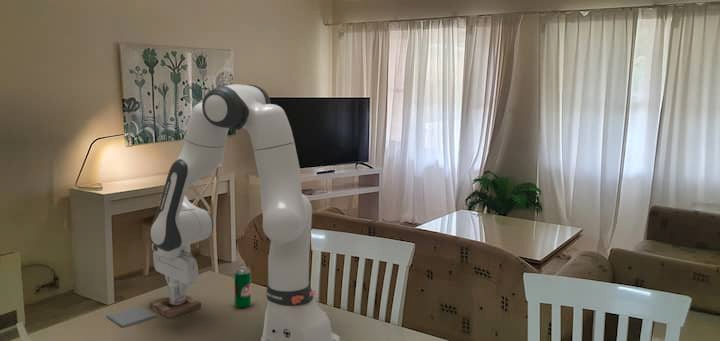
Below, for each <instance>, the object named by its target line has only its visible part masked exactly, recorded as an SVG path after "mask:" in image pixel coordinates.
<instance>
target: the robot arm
mask: <svg viewBox="0 0 720 341" xmlns="http://www.w3.org/2000/svg"><path fill="white" fill-rule="evenodd" d="M242 128H243V129H244V130H246V131H247V133H248V134H249V136H250V141H251V145H252V149H253V151H252V152H253V154H254V161H255V164H256V169H257V174H258V178H259V180H258V181H259V191H260V204H261V213H262V229H263V232H264V233H263V234H264V235H265V236H266V237H267V238H268V239H269V240H270V246H269V252H268V257H267V258H268V259H267V262H268V266H267V270H268V271H267V272H268V274H267V280H268V282H267V284H266V299H267V305H266V309H265V312H264V322H263V323H264V324H263V331H262V334H261V335H262V336H261V337H260V341H341V337H340V336H339V335H337V334H336V333H334V332H333V331H332V325H331V324H332V323H331V319H330V318H329V317H328V314H327V312H326V311H325V310H323V309H322V308H321V306H319V304H318V303H317V302H316V301H315V300H314V296H315V295H316V290H312V287H311V283H310V281H309V280H310V277H309V276H310V272H309V271H310V250H311V249H310V247H311V237H312V236H311V235H312V221H313V206H312V203H311V201H310V199H309V198H308V197H307V195H305V194H304V193H303V192H302V191H303V190H302V181H301V179H302V178H301V167H300V164H299V163H300V161H299V158H298V153H297V149H296V142H295V138H294V135H293V130H292V127H291V125H290V122H289V119H288V116H287V114H286V112H285V110H284V108H282V107H281V106H279V105H277V104H275V103H274V104H273V103H271V99H270V96H269V94H268V92H267V91H266V90H265V89H264V88H262V87H261V86H258V85H255V84H238V83H237V84H235V83H234V84H228V85H221V86H217V87H214V88H212V89H210V90H209V91H208V92H206V94H205V95H204V97H203V99H202V102H199V103H196V104H195V105H194V107H193V109H192V111H191V114H190V116H189V119H188V123H187V127H186V132H185V138H184V139H185V140H184V143H183V147H182V150H181V152H180V154H179V156H178V157H177V159H176V160H175V161H174V162H173V163H172V164H171V166H170V168H169V171H168V174H167V177H166V180H165V183H164V187H163V190H162V194H161V198H160V201H159V203H158V209H157V212H156V214H155V216H154V218H153V220H152V222H151V224H150V228H149V237H150V240H151V242H152V244H151V249H152V251H153V253H152V254H153V256H152V257H153V265H154V269H155V271H156V272H158V273H160V274H162V275H164V278H165V280H166V283H167V285H168V284H169V282H170V280H169V277H172V278H173V279H175V280H178V281H179V284H180V288H178V293H179V294H181V295H183V294H185V295H187V288H188V286H190V285H194V284H197V283H198V282H199V280H200V277H199V276H200V275H199V266H198V262H197V260H196V258H195V257H194V256H193V254H192V253H191V244H195V243H198V242H200V241H204V240H206V239H208V238H210V237H211V235H212V233H213V231H214V220H213V217H212V215H211V214H210V212H209V211H208V210H206V209H204V208H200V207H198V206H196V205H195V204H193V203H192V202H190V201H189V198H188V196H186V193H187V192H188V190H189V188H190V187H191V186H192V185H193V184H194V183H195V182H197V181H198V180H200V179H201V178H203V177H204V176H208V175H209V174H211V173H212V172H214V171H215V170H217V169H218V167H219V166H221V164H222V162H223V160H224V157H225V154H226V153H225V152H226V146H227V139H228V134H229V133H228V132H229V130H235V131H236V130H237V131H238V130H241V129H242ZM167 288H168V289H167V290H169V287H168V286H167Z"/></svg>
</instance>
